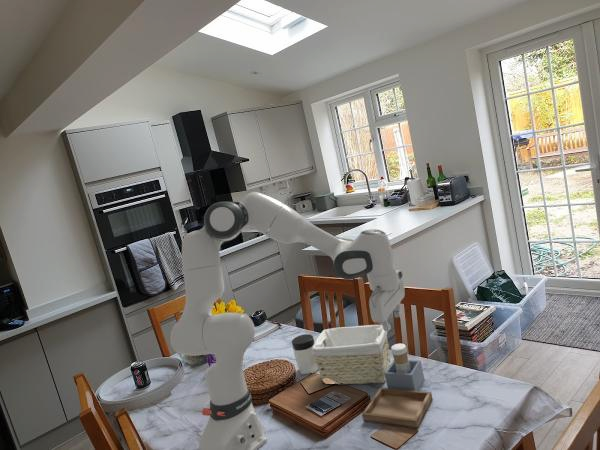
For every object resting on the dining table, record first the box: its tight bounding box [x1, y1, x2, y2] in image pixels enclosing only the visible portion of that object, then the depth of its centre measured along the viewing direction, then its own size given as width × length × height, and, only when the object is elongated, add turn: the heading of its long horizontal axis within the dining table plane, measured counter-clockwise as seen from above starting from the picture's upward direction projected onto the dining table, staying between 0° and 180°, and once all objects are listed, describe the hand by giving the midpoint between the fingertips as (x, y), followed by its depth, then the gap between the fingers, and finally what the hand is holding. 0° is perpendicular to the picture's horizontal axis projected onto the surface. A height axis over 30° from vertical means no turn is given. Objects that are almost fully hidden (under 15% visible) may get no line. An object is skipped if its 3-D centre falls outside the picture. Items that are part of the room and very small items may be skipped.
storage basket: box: [312, 324, 391, 385], centre depth 159 cm, size 24×16×15 cm
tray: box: [361, 387, 434, 430], centre depth 134 cm, size 14×16×2 cm
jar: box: [291, 333, 319, 375], centre depth 172 cm, size 9×8×12 cm
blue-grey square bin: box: [384, 359, 425, 391], centre depth 146 cm, size 9×9×6 cm
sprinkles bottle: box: [390, 343, 411, 374], centre depth 145 cm, size 5×5×13 cm
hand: (392, 323), depth 144 cm, fingers open, 8 cm apart
